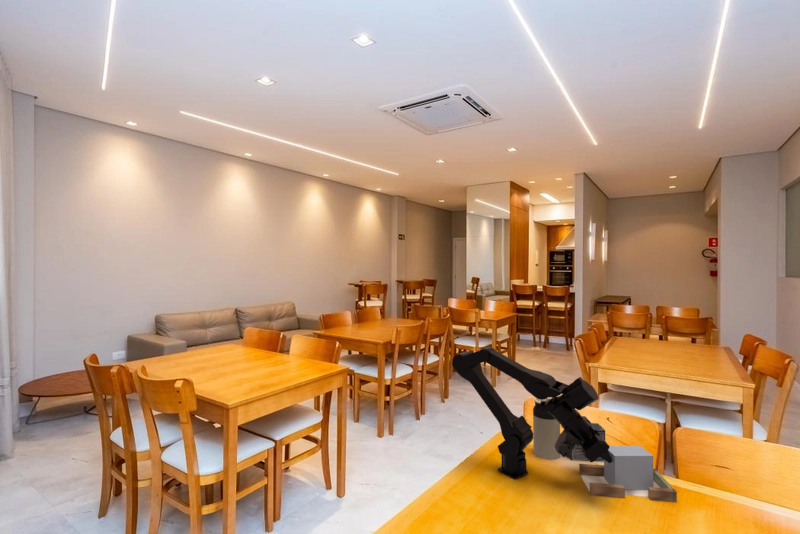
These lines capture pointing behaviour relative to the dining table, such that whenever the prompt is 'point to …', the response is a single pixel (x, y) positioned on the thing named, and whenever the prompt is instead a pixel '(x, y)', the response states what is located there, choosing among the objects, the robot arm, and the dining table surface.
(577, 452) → the small box
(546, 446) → the travel mug
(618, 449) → the block
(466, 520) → the dining table surface
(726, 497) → the dining table surface
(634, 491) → the brown piece
